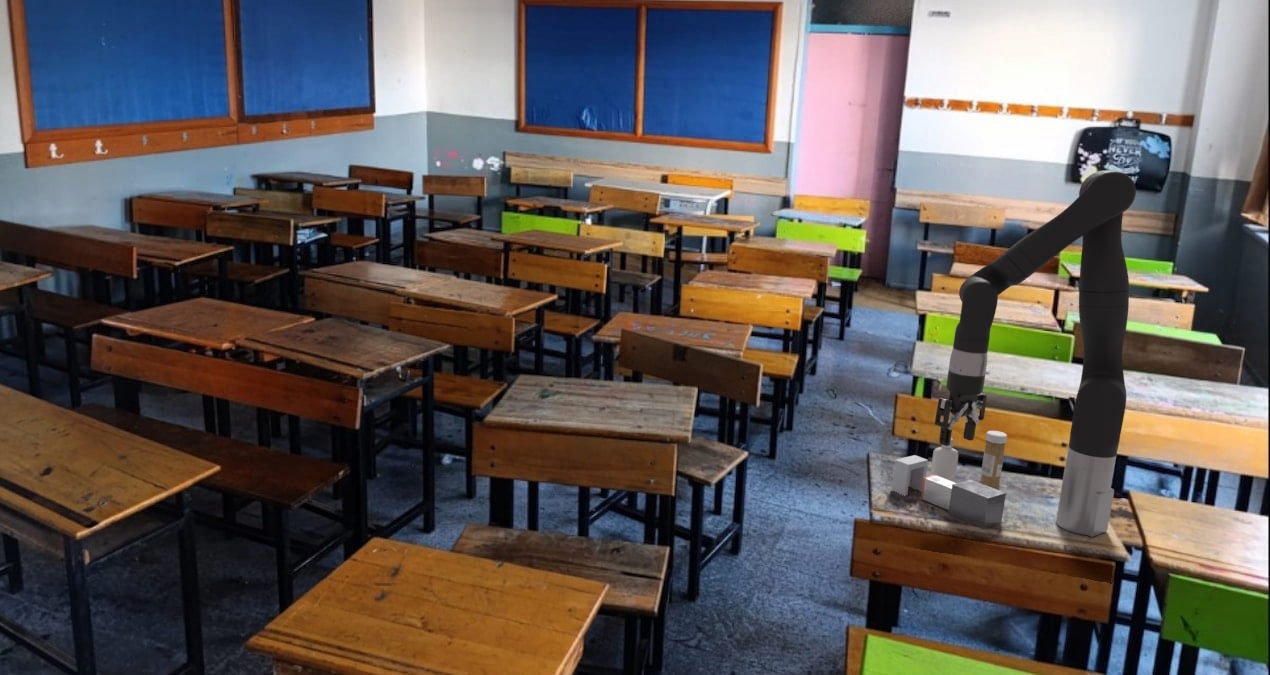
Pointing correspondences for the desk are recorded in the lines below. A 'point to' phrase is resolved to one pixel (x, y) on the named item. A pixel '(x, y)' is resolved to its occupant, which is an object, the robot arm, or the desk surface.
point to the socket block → (909, 474)
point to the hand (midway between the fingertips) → (956, 442)
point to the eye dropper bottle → (945, 462)
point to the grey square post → (937, 491)
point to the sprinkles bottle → (993, 459)
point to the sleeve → (977, 503)
